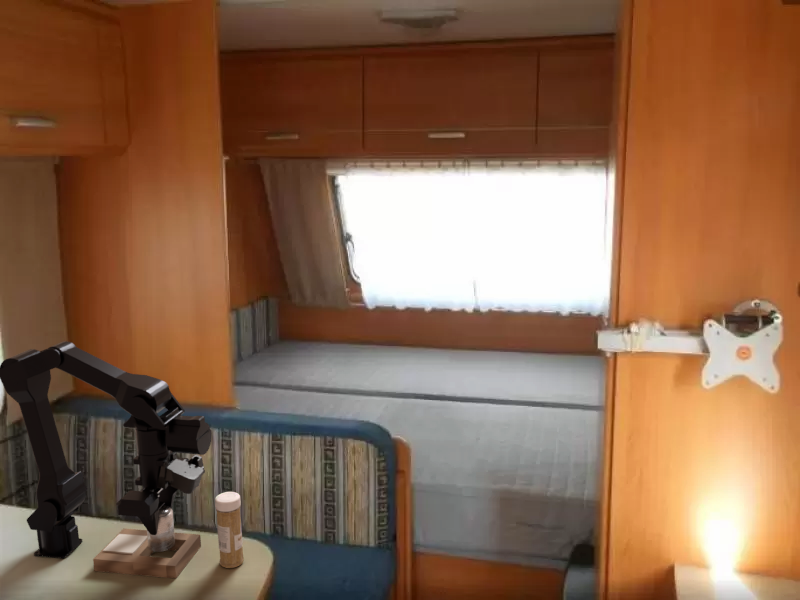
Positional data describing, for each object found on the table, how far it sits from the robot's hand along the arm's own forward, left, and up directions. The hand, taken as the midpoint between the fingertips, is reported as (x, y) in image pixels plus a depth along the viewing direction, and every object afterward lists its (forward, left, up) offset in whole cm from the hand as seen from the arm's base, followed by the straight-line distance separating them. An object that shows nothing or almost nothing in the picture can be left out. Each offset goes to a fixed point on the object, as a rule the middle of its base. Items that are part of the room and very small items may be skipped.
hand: (160, 527), depth 142 cm
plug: (0, 0, -4) cm, 4 cm away
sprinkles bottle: (+13, +2, -7) cm, 15 cm away
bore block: (-3, +1, -7) cm, 8 cm away
